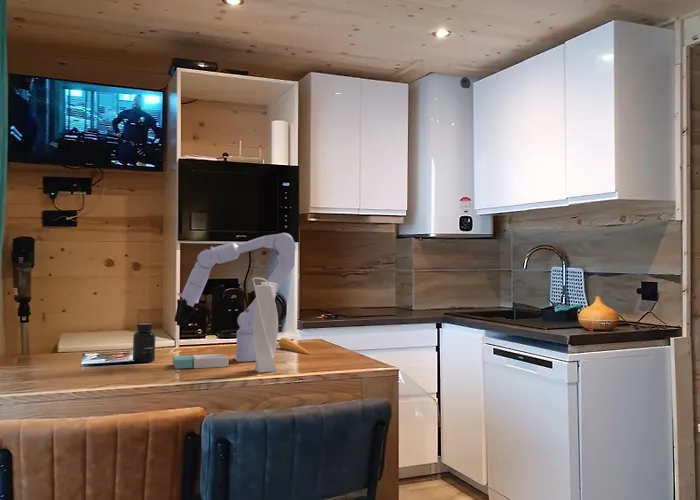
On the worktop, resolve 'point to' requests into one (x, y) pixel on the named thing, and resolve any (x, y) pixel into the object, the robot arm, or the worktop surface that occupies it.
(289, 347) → the carrot
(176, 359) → the stub
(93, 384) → the worktop surface
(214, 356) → the gray rectangular block
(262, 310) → the skyscraper
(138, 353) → the supplement bottle
